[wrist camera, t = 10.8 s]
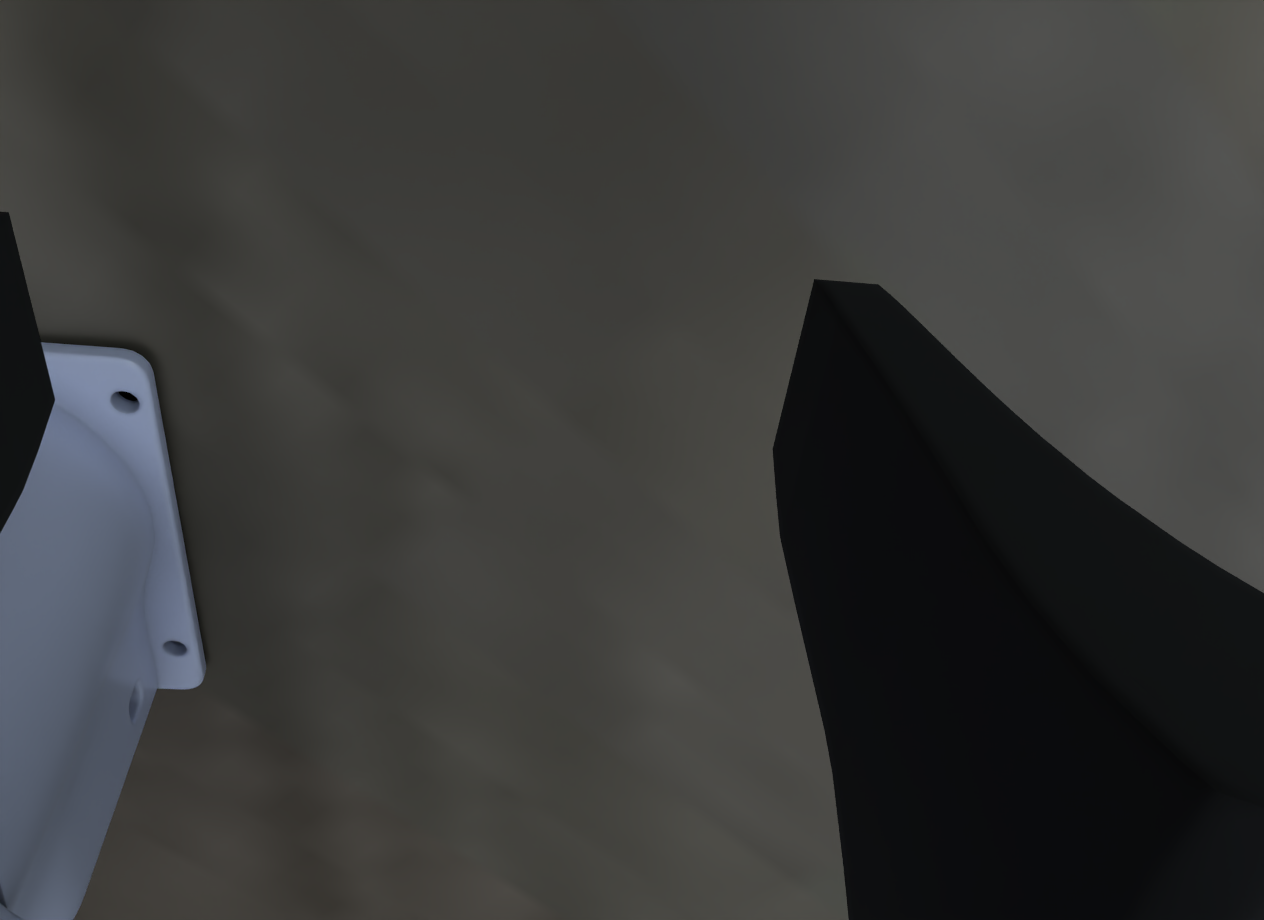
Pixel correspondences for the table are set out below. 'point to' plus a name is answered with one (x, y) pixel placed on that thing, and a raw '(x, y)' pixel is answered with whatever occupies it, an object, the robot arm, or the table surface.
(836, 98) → the table surface
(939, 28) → the table surface
